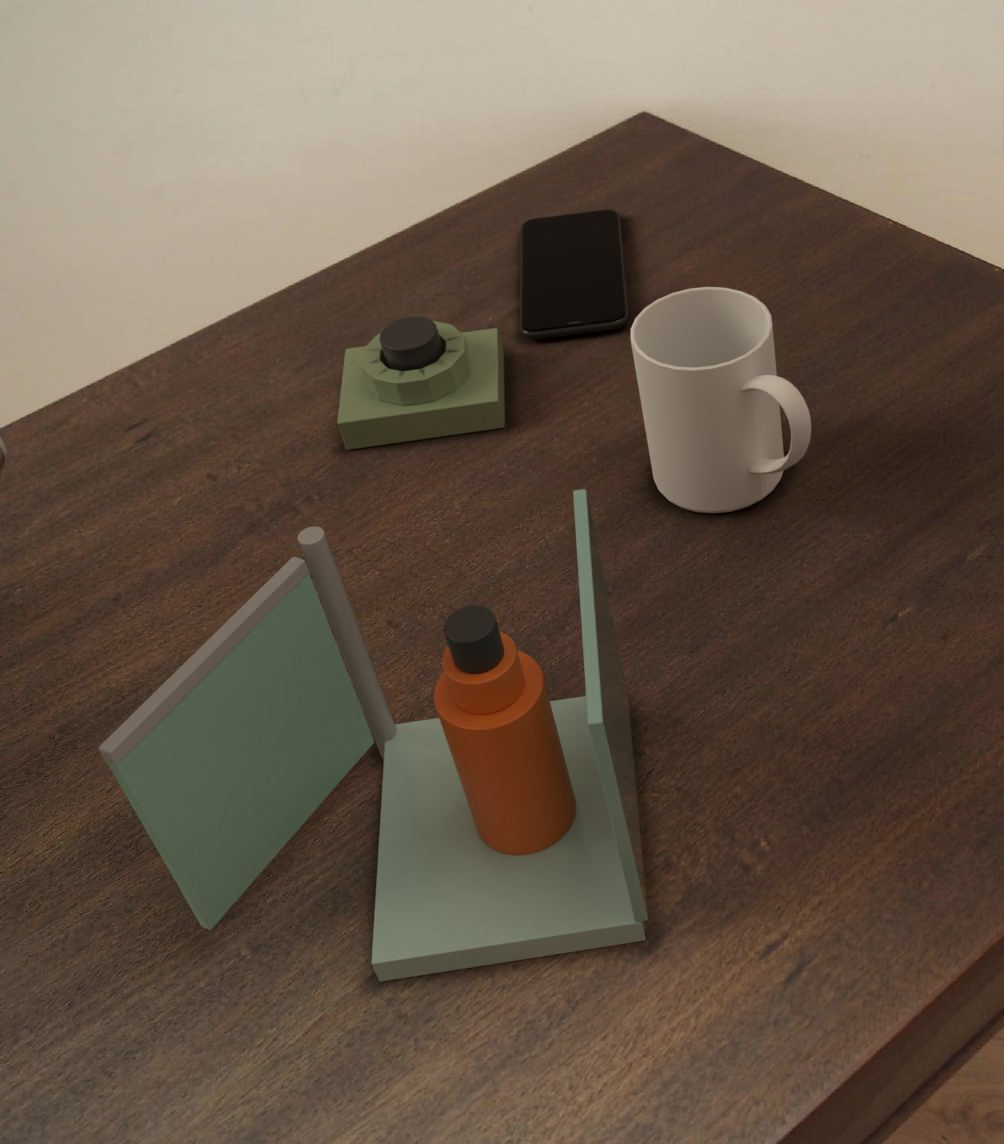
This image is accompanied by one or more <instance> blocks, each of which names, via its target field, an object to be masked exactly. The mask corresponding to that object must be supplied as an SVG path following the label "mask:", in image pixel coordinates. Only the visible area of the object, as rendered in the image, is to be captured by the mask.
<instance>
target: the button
mask: <svg viewBox="0 0 1004 1144" xmlns="http://www.w3.org/2000/svg"><path fill="white" fill-rule="evenodd" d="M433 321H434V320H432V319H431V318H428V317H424V316H419V315H418V316H417V315H416V316H415V315H414V316H406V317H401V318H399V319H396V320H394V321H392V322H390V323H388V324H387V325H386V326H384V328H383V329H382V330H381V332H380V333H379V334H380V337H379V340H380V343H381V347H382V350H383V353H384V357H385V360H386V363H387V365H388V366H389V367H390V368H392V369H394V370H398V371H410V370H417V369H422V368H424V367H426V366H428V365H431V364H433V363H435V362H437V361H438V360H439V358H440V357H441V355H442V351H443V348H442V344H441V341H440V337H439V333H438V329H437V326H436V324H435V323H434V322H433Z"/></svg>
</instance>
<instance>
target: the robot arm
mask: <svg viewBox="0 0 1004 1144" xmlns="http://www.w3.org/2000/svg"><path fill="white" fill-rule="evenodd" d="M7 454H8V448H7V446H6V444H5V442H4V440H3V438H2V437H1V435H0V476H1V475H2V471H3V469H4V465H5V462H6V458H7Z"/></svg>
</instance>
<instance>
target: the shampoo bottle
mask: <svg viewBox="0 0 1004 1144" xmlns="http://www.w3.org/2000/svg"><path fill="white" fill-rule="evenodd" d="M443 633H444V637H445V640H446V643H447V645H448V646H447V648H446V650H445V651H444V653H443V655H442V660H441V665H442V666H441V667H442V669H443V670H442V671H443V673H442V674H441V675H440V676H439V678H438V679H437V682H436V684H435V687H434V691H433V703H434V707H435V710H436V712H437V716H438V718H439V719H440V722H441V725H442V728H443V731H444V734H445V737H446V740H447V743H448V746H449V749H450V752H451V755H452V758H453V761H454V764H455V767H456V770H457V773H458V776H459V779H460V781H461V784H462V787H463V790H464V793H465V796H466V799H467V802H468V805H469V808H470V811H471V814H472V817H473V820H474V823H475V826H476V829H477V832H478V834H479V836H480V837H481V839H482V840H483V841H484V842H485V844H487V845H488V846H489V847H491V848H492V849H494V850H496V851H498V852H501V853H505V854H510V855H526V854H531V853H535V852H539V851H541V850H544V849H546V848H548V847H550V846H551V845H553V844H555V843H556V842H557V841H559V840H560V839H561V838H562V837H563V836H564V835H565V834H566V833H567V831H568V830H569V828H570V827H571V825H572V823H573V821H574V818H575V814H576V800H575V796H574V792H573V788H572V785H571V781H570V777H569V773H568V769H567V765H566V761H565V758H564V754H563V750H562V746H561V742H560V738H559V734H558V731H557V727H556V723H555V719H554V715H553V711H552V708H551V704H550V701H551V699H550V695H549V693H548V688H547V684H546V680H545V677H544V674H543V671H542V668H541V666H540V665H539V664H538V662H537V661H536V660H535V659H534V658H532V656H530V655H529V654H528V653H525V652H523V651H521V650H518V649H517V645H516V643H515V641H514V640H513V639H512V637H510V635H508V634H506V633H504V632H502V631H500V628H499V624H498V621H497V617H496V615H495V613H494V611H492V610H491V609H490V608H488V607H487V606H483V605H478V604H472V605H471V604H469V605H466V606H461V607H460V608H458V609H456V610H454V611H453V612H451V613H450V614H449V615H448V616H447V618H446V619H445V621H444V625H443Z"/></svg>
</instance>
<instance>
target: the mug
mask: <svg viewBox="0 0 1004 1144" xmlns="http://www.w3.org/2000/svg"><path fill="white" fill-rule="evenodd" d="M774 339H775V338H774V328H773V320H772V314H771V312H770V311H769V309H768V307H767V306H766V304H765V303H763V302H762V301H760V300H759V298H757V297H756V296H753V295H751V294H749V293H747V292H744V291H741V290H737V289H732V288H729V287H719V286H718V287H717V286H703V287H702V286H701V287H693V288H687V289H683V290H679V291H675V292H672V293H669V294H667V295H665V296H663V297H660V298H657V299H655V301H653V302H651V303H650V304H649V305H647V306H646V307H644V308H643V309H642V310H641V311H640V313H639V314H638V315H637V316H636V317H635V318H634V321H633V323H632V325H631V328H630V344H631V351H632V356H633V362H634V368H635V375H636V382H637V386H638V392H639V393H638V394H639V400H640V404H641V411H642V417H643V424H644V429H645V436H646V441H647V447H648V453H649V459H650V466H651V471H652V472H651V473H652V477H653V481H654V484H655V485H656V488H657V489H658V491H659V492H660V493H661V494H662V495H663V497H665V498H666V500H668V502H670V503H672V504H674V505H676V506H677V507H679V508H681V509H684V510H688V511H691V512H694V513H704V514H722V513H728V512H729V513H731V512H734V511H738V510H742V509H745V508H748V507H750V506H752V505H754V504H756V503H758V502H761V501H763V499H764V498H766V497H768V495H769V494H771V493H772V492H773V491H774V490H775V488H776V487H777V485H778V484H779V482H780V481H781V479H782V476H783V473H784V471H785V470H787V469H789V468H790V467H793V465H795V464H797V463H798V462H799V461H800V460H801V459H802V458H803V457H804V456H805V454H806V452H807V450H808V447H809V445H810V442H811V436H812V420H811V419H812V418H811V415H810V410H809V406H808V405H807V403H806V400H805V398H804V397H803V395H802V394H801V392H800V391H799V389H798V388H797V387H796V386H795V385H794V384H793V383H792V382H791V381H789V380H787V379H786V378H784V377H781V376H778V375H777V373H778V372H777V363H776V352H775V340H774ZM780 407H781V408H782V409H783V411H784V414H785V416H786V418H787V419H788V424H789V429H790V445H789V446H790V447H789V450H788V452H787V455H785V454H784V453H785V452H784V443H783V442H784V441H783V440H784V439H783V432H782V431H783V429H782V421H781V420H782V419H781V409H780Z"/></svg>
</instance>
